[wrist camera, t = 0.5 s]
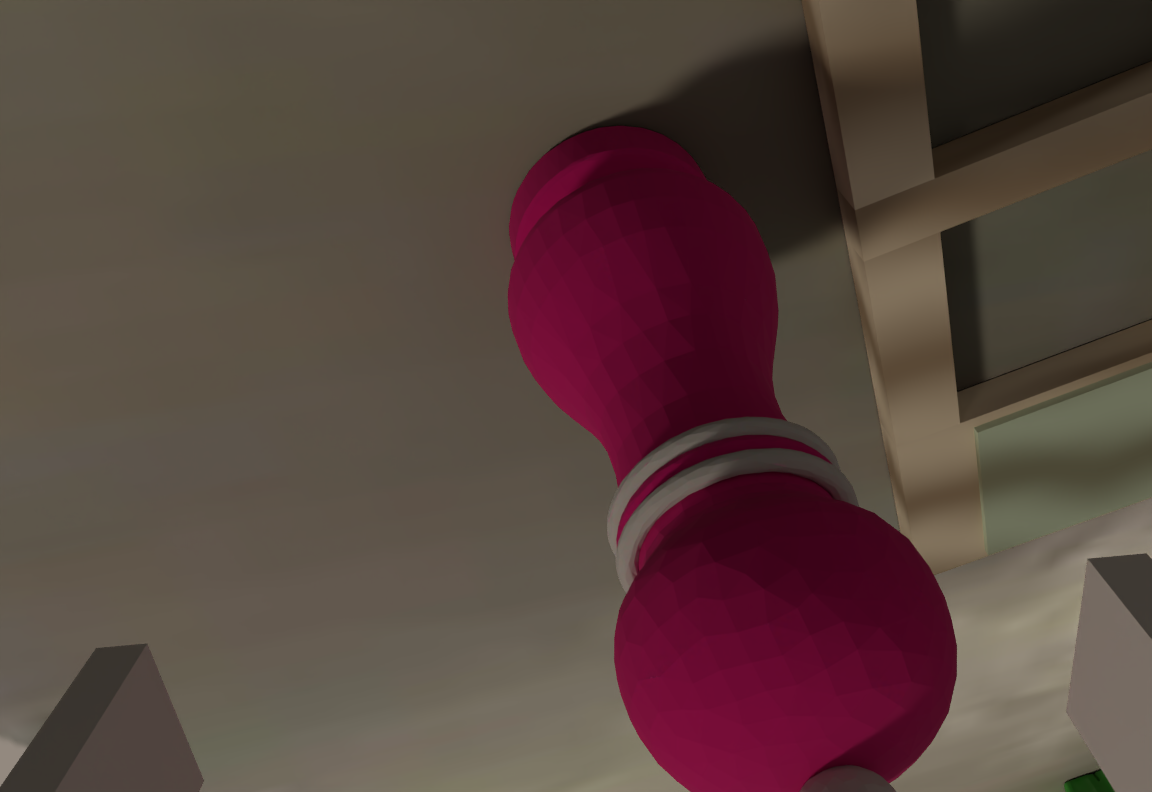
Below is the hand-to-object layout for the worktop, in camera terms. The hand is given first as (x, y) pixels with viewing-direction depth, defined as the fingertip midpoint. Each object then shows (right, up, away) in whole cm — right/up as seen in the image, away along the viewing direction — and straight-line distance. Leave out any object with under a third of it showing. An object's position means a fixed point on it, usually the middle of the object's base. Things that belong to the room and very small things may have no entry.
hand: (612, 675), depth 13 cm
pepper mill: (0, +10, +16) cm, 18 cm away
